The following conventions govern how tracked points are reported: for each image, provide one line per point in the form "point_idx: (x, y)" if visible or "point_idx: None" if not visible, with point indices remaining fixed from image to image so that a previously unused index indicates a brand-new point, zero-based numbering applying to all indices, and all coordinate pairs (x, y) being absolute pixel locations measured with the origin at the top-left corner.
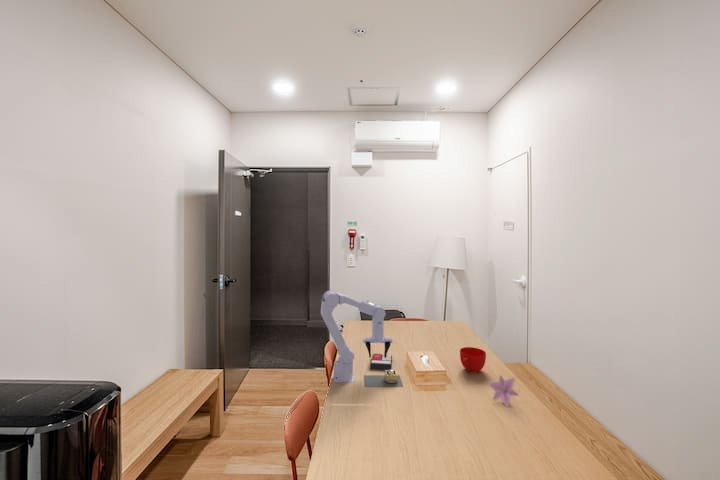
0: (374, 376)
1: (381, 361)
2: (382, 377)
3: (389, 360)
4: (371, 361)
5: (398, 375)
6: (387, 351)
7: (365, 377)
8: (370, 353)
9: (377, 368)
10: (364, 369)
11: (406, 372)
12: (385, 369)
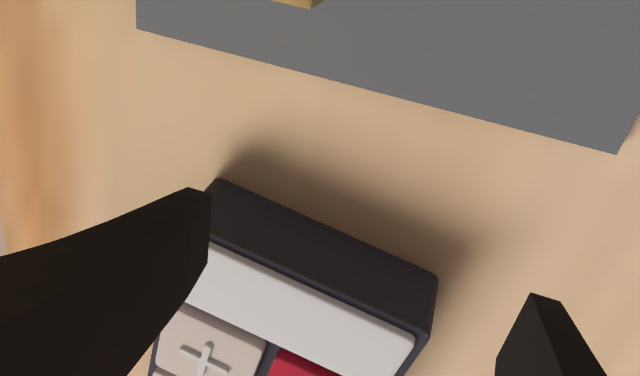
0: (471, 79)
1: (277, 324)
2: (368, 19)
3: (179, 310)
4: (396, 374)
5: (149, 24)
6: (57, 241)
7: (624, 82)
8: (563, 366)
9: (357, 254)
10: (507, 307)
11: (60, 98)
12: (269, 211)
